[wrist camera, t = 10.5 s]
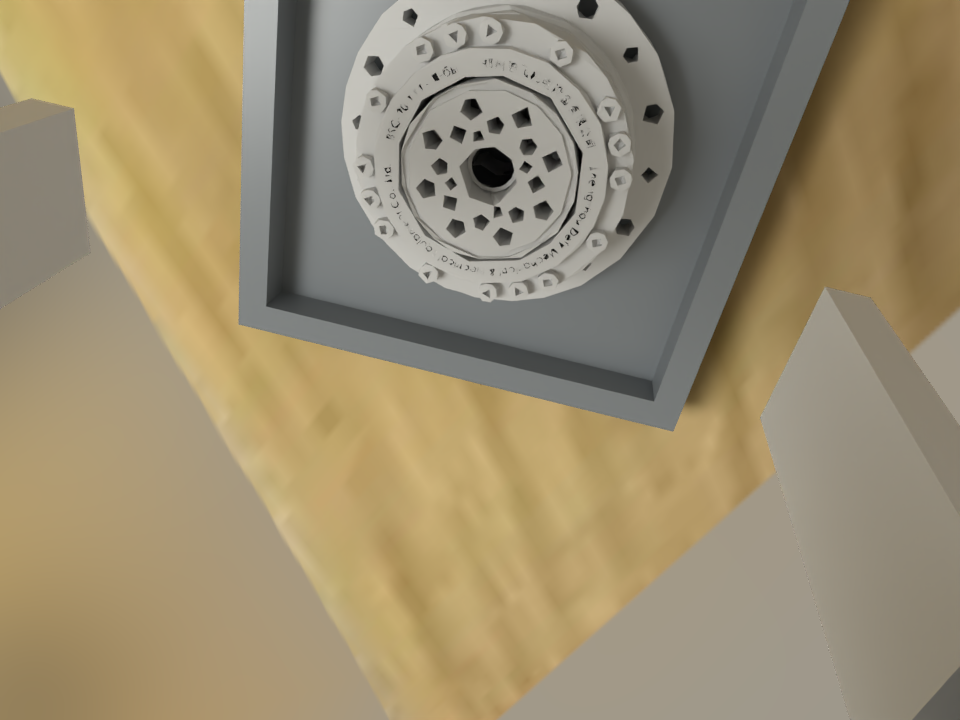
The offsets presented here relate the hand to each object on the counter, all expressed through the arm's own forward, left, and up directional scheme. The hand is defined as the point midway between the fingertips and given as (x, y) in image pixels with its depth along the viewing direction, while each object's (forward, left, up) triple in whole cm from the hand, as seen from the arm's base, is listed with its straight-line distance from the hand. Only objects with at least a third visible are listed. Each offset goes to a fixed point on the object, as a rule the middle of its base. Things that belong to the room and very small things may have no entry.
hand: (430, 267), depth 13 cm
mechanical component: (0, 0, -12) cm, 12 cm away
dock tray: (0, 0, -12) cm, 12 cm away
